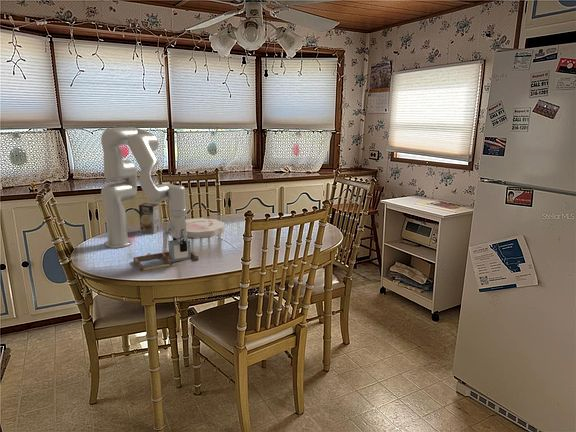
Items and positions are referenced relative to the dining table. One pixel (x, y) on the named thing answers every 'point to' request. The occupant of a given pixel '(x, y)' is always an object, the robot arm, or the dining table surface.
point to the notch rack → (154, 256)
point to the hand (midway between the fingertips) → (180, 248)
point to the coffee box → (149, 218)
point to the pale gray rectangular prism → (178, 251)
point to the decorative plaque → (204, 227)
